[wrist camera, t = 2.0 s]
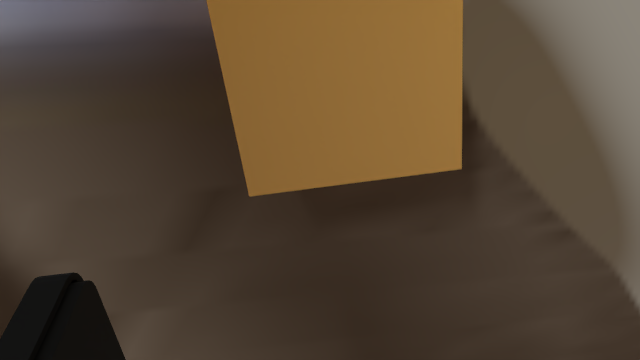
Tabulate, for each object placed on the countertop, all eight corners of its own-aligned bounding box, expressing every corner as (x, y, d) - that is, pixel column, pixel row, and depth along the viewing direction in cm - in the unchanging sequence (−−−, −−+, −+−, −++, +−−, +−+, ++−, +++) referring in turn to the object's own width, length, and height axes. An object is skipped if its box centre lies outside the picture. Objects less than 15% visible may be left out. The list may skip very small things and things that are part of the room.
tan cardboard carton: (220, -63, 18) (201, -20, 14) (420, -90, 18) (463, -55, 14) (255, 117, 21) (249, 196, 17) (425, 95, 21) (461, 168, 17)
